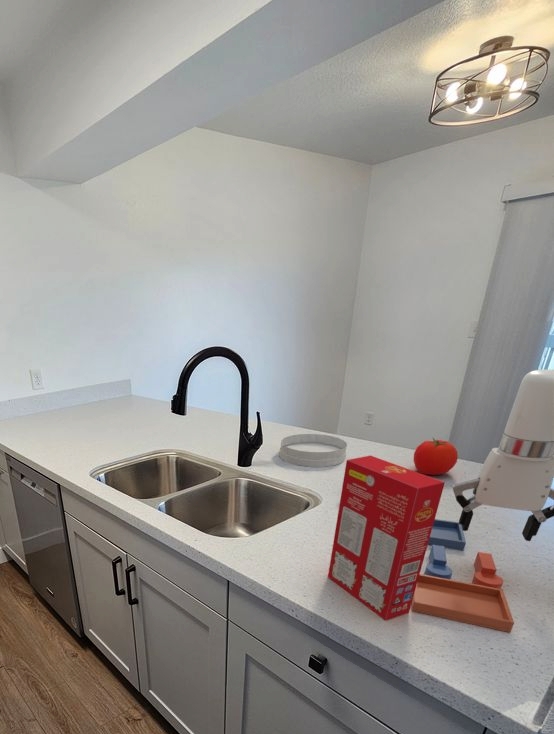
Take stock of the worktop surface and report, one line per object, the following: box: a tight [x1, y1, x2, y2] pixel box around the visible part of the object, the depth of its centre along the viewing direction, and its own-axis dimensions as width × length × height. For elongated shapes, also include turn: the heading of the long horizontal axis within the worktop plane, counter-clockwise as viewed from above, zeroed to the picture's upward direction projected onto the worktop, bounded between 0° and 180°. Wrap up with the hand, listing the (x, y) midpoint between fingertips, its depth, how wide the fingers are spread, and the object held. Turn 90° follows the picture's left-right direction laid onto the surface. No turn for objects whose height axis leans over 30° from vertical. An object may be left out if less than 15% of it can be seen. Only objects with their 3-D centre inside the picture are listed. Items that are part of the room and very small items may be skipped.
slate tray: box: [427, 518, 467, 551], centre depth 101 cm, size 14×10×2 cm
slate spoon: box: [423, 545, 453, 580], centre depth 88 cm, size 4×10×3 cm, turn 153°
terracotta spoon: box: [471, 551, 504, 589], centre depth 85 cm, size 4×10×3 cm, turn 153°
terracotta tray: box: [411, 573, 515, 633], centre depth 78 cm, size 14×10×2 cm
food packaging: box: [327, 454, 446, 621], centre depth 77 cm, size 15×5×25 cm, turn 20°
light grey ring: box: [279, 433, 348, 468], centre depth 153 cm, size 22×22×5 cm
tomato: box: [413, 437, 459, 476], centre depth 132 cm, size 12×12×10 cm
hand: (494, 532), depth 83 cm, fingers open, 9 cm apart
